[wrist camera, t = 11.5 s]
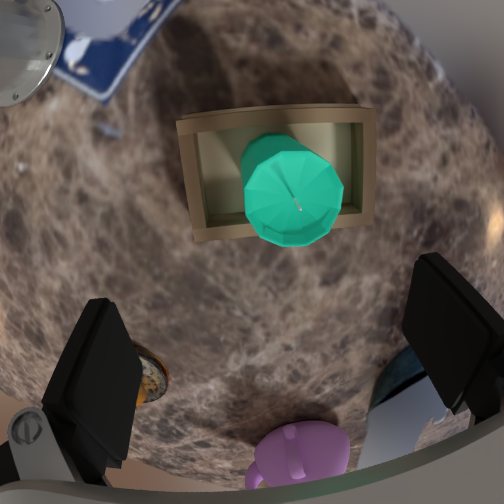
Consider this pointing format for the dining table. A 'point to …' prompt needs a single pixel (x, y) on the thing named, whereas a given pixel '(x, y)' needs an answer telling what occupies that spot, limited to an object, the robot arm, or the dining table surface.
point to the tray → (273, 121)
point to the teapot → (299, 454)
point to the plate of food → (151, 377)
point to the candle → (288, 190)
